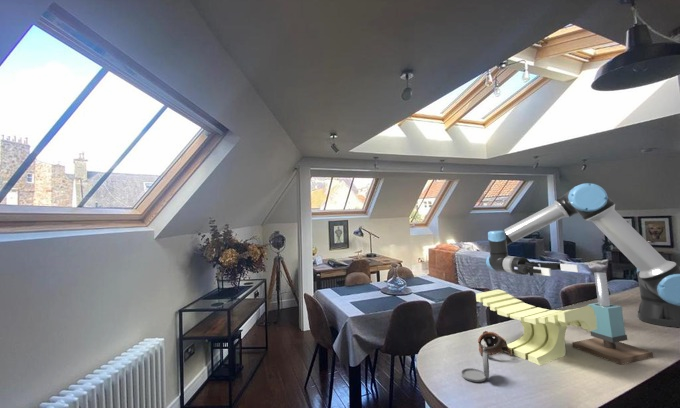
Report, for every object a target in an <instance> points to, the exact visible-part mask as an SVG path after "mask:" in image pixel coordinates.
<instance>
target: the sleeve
mask: <svg viewBox="0 0 680 408" xmlns="http://www.w3.org/2000/svg"><path fill="white" fill-rule="evenodd" d="M588 305H589V306H591V307H592V308H593V309H594V312H595V315H596V323H597V329H595V330H593V331H592V332H595V333H598V334H602V335H605V336H608V337H612V338H613V337H618V336H623V335H627V334H626V328H625V321H624V314H623V308H622V305H616V304H612V303H610V306H611V307H602V306H598V302H594V303H588V304H587V306H588Z"/></svg>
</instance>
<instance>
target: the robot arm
mask: <svg viewBox="0 0 680 408" xmlns="http://www.w3.org/2000/svg"><path fill="white" fill-rule="evenodd" d="M615 207H616V203H615V202H614V201H613V200H612V199H611V198H610V197H608V194H607V191H606V190H605V189H604V188H603V187H602V186H600V185H599V184H596V183H587V182H586V183H581V184H578V185H576V186H574V187H572V188H570V189H569V190H568V191H567V192H566V193H564V194H563V195H561V196H560V197H558V198H557V199H555V200H554V201H553V203H552V204H549V205H548V206H546V207H545V208H543V209H540V210H539V211H537V212H535V213H532V214H531V215H529V216H528V217H525V218H523V219H522V220H520V221H517V222H516V223H514V224H512V225H510V226H508V227H506V228H504V229H503V230H490V231H488V232H487V239H488V247H489V255H488V256H487V257H486V259H485V264H486V267H487V268H488V270H489V269H490V270H491V271H494V272H499V273H500V272H502V273H509V274H511V275H515V274H517V275H521V276H524V275H528V274H529V276H530V277H532V276H533V277H534V275H538V276H546V277H552V271H553V270H554V271H557V270H558V271H563V272H571V273H580V267H579V265H578V264H572V263H571V264H569V263H565V262H563V261H560V262H541V261H538V262H537V261H536V262H535V261H530V260H529V259H528V258H527V257H522V256H511V255H509V251H508V246H509V245H511V244H514V242H517V241H519V240H521V239H522V238H524V237H527V236H529V235H531V234H533V233H535V232H537V231H539V230H541V229H543V228H545V227H547V226H549V225H552V224H553V223H555V222H557V221H559V220H561V219H563V218H570V217H573V216H574V215H577V214H578V215H579V216H580V217H582V219H583V220H584V221H588V222H592V223H593V224H594V225H595V226H596V227H597V228H598V229H599V230H600V231H601V232H602V234H603V235H605V236H606V237H607V239H609V241H610V242H611V243H612V244H613V245H614V246H615V247H616V248H617V249H618V250H619V251H620V252H621V253H622V254H623V255H624V256H625V257H626V258H627V260H628V261H630V263H632V265H633V266H635V268H636V275H637V282H638V288H639V294H640V304H639V306H638V310H637V318H639V319H638V320H640V321H643V322H644V321H645V323H648V324H652V325H657V326H661V327H664V326H665V327H670V326H671V328H672V327H673V328H680V266H679V264H677V262H675V261H670V260H666V259H665V258H664V256H662V255H661V253H659V252H658V251H657V250H656V248H654V247H653V246H652V245H651V243H649V242H648V240H645V238H644V237H643V236H642V235H641V234H640V233H639V232H638V231H637V230H636V229H635V228H634V227H633V226H632V225H631V224H630V223H629V222H628V221H626V219H625V218H624V217H623V216H621V214H620V213H619V212H617V211H616V209H615Z"/></svg>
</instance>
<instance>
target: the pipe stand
mask: <svg viewBox="0 0 680 408" xmlns="http://www.w3.org/2000/svg"><path fill="white" fill-rule="evenodd" d="M593 275H594V283H595V288H596V296H597V297H596V298H597V303H598V306H602V307H611V306H610V304H611V300H610V292H609V285H608V279H607V273H606V272H598V271H597V272H593ZM571 345H572V348H575V349H577V350H580V351H583V352H586V353H588V354H591V355H593V356H597V357H599V358H602V359H604V360H607V361H610V362H613V363H615V364H618V365H624V364H629V363H633V362H637V361H642V360H645V359H650V358H653V357H654V354H653V351H651V350H647V349H644V348H640V347H637V346H634V345H630V344H628V343H624V342H623V341H619V342H615V343H612V342H609V341H606V340H602V339H599V338H596V337H593V338H592V337H591V338H587V339H582V340H578V341H572V342H571Z"/></svg>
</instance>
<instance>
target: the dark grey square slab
mask: <svg viewBox="0 0 680 408" xmlns="http://www.w3.org/2000/svg"><path fill="white" fill-rule="evenodd" d="M589 332H590V336H591V337H593V338H599V339H602V340H606V341H609V342H612V343H615V342H623V341H628V334H626V335H623V336H618V337H613V338H612V337H608V336H605V335H602V334H598V333H595V332H592V331H589Z"/></svg>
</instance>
